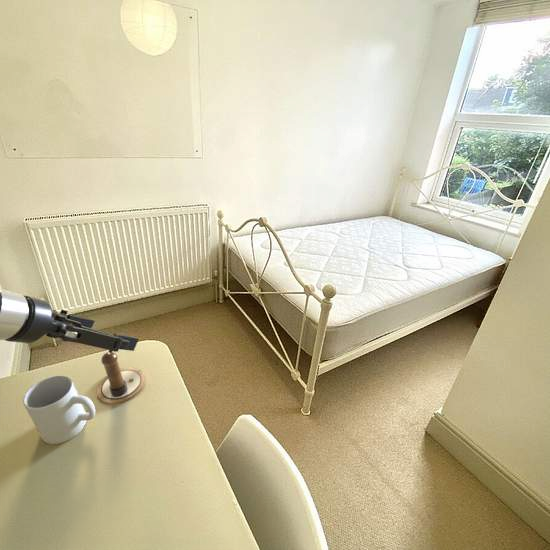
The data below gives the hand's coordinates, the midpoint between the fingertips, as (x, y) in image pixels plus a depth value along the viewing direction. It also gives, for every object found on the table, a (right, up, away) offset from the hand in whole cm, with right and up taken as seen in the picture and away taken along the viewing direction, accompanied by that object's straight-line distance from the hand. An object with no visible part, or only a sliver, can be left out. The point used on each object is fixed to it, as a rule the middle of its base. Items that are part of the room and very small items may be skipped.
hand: (112, 334), depth 69 cm
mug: (-7, -20, -2) cm, 21 cm away
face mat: (-2, -14, +8) cm, 16 cm away
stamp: (-1, -15, +6) cm, 16 cm away
